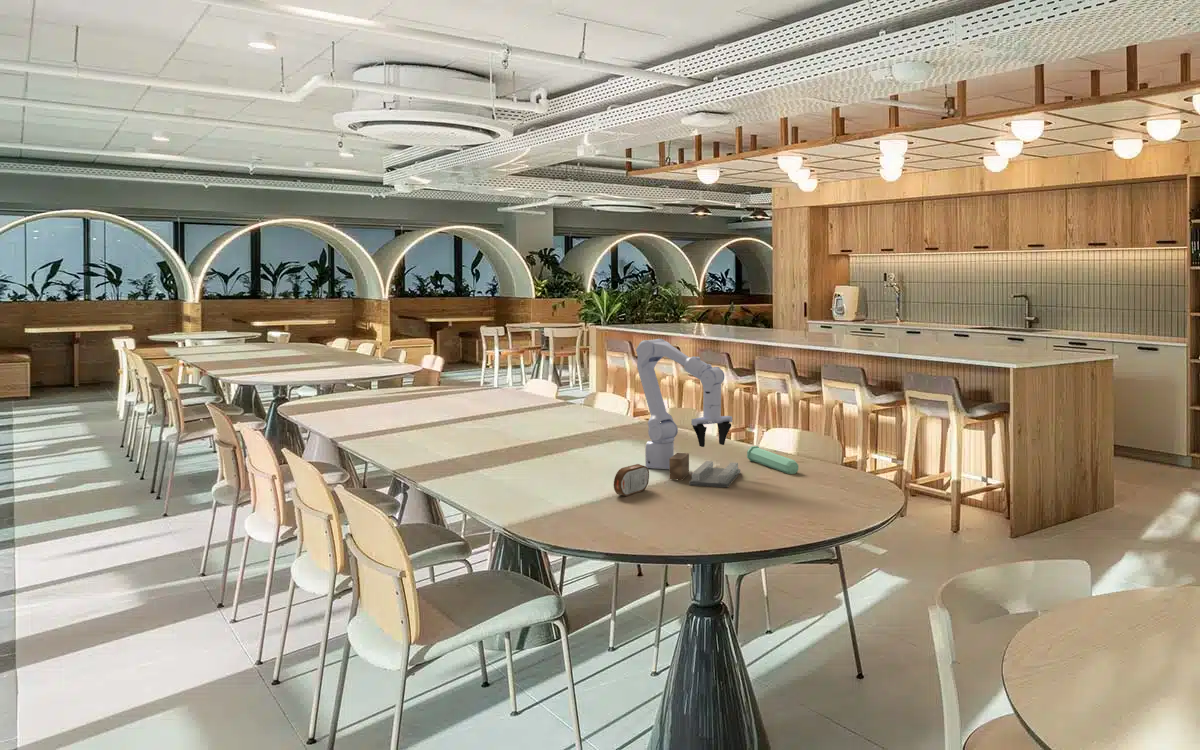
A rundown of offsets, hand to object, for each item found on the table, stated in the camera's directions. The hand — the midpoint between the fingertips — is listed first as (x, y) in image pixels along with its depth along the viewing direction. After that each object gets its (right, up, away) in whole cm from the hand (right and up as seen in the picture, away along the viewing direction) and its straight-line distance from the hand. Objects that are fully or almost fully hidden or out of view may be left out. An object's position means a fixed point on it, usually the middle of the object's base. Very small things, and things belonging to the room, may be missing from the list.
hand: (711, 445), depth 294 cm
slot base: (0, -10, -6) cm, 12 cm away
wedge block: (-11, -10, -2) cm, 15 cm away
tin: (-27, -13, -24) cm, 38 cm away
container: (+22, -9, +11) cm, 26 cm away
